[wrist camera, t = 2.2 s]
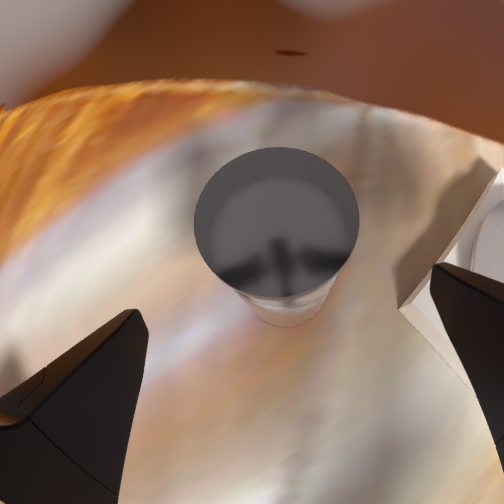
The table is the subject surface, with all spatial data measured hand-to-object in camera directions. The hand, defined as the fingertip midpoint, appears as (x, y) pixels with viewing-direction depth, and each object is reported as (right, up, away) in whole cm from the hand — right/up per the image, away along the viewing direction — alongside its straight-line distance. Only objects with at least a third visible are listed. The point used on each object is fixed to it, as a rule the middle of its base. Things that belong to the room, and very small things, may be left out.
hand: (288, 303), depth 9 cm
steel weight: (+1, -1, +10) cm, 10 cm away
